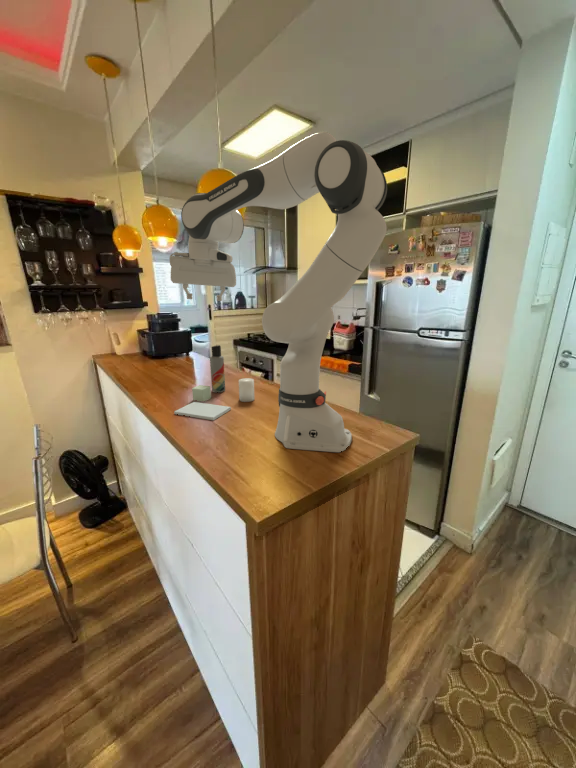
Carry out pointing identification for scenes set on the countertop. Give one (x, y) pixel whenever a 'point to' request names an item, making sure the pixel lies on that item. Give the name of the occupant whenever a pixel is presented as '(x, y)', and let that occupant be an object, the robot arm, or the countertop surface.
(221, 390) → the lotion bottle
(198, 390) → the sage block
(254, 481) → the countertop surface
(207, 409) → the tray
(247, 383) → the white rounded cylinder
